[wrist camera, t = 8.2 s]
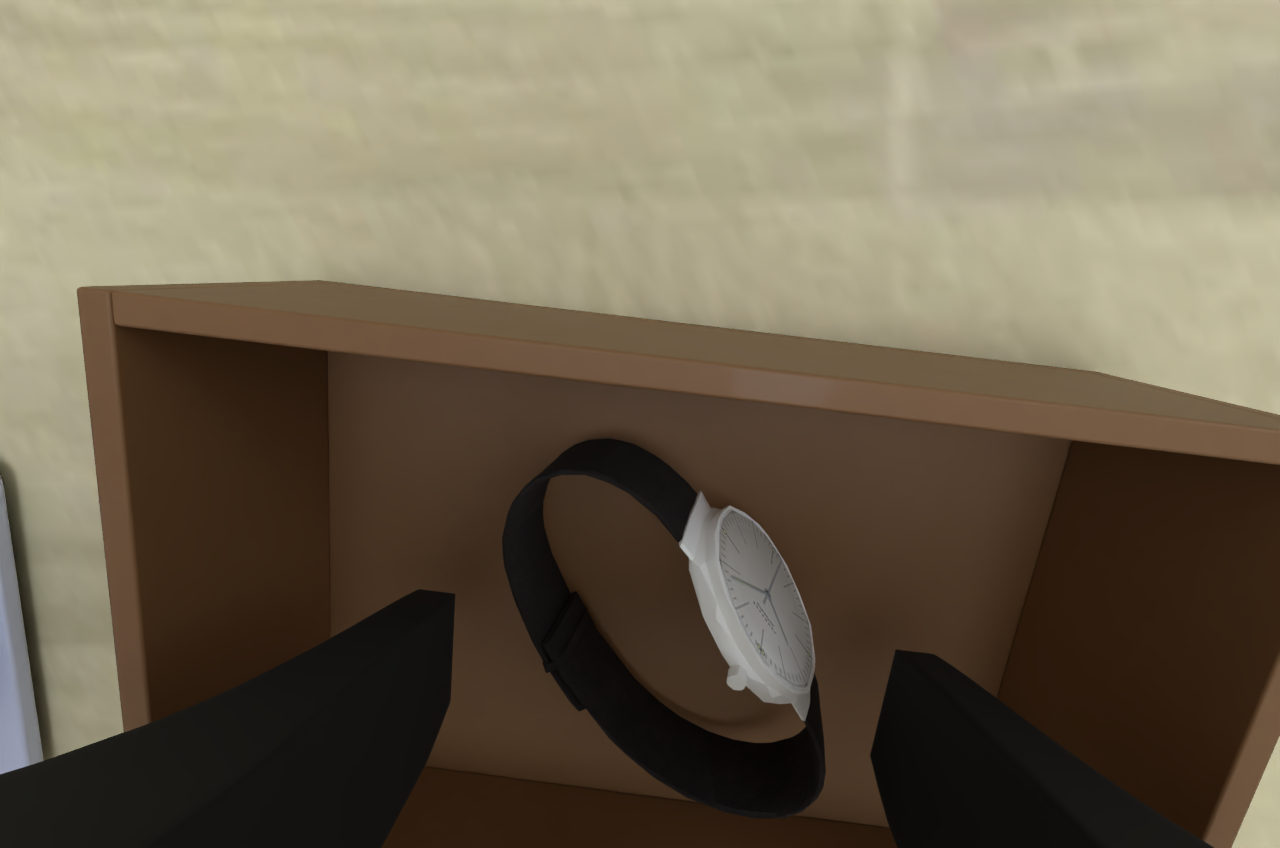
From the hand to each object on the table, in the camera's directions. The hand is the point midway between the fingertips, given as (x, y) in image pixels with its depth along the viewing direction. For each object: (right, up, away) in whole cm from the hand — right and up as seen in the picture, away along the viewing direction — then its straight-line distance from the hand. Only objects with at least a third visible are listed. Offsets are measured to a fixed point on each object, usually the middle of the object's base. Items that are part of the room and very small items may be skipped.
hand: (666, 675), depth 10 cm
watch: (0, +1, +3) cm, 3 cm away
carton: (0, +1, +3) cm, 3 cm away
